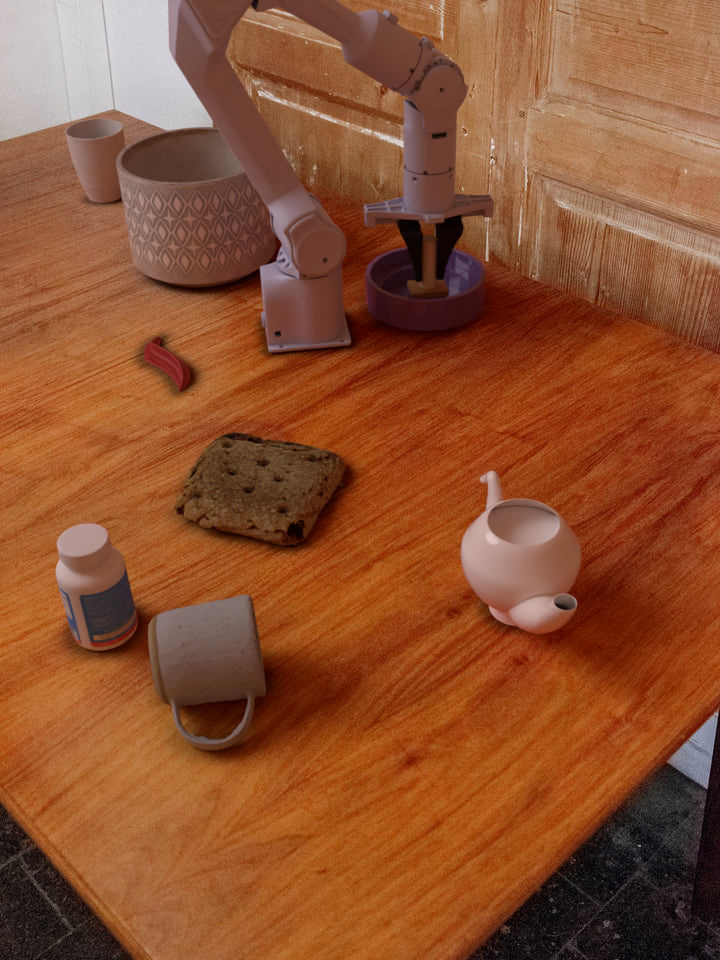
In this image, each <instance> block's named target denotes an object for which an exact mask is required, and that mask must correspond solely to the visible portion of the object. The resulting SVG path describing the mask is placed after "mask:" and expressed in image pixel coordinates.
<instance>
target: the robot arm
mask: <svg viewBox="0 0 720 960" xmlns="http://www.w3.org/2000/svg"><path fill="white" fill-rule="evenodd" d="M250 7H251V8H252V9H253V10H254V11H255V12H256V13H262V12H266V11H268V10H273V9H276V8H279V9H282V10H283V11H285V12H287V13H289V14H290V15H292V16H294V17H295V18H297V19H299V20H301V21H302V22H304V23H306V24H308V25H309V26H311V27H312V28H315V29H316V30H318V31H320V32H322V33H323V34H325V35H327V36H329V37H330V38H332V39H334V40H335V41H337V42H338V43H339V44H340V47H341V52H342V56H343V60H344V61H345V63H347V64H348V65H350V66H351V67H353V68H355V69H356V70H358V71H359V72H361V73H363V74H364V75H366V76H368V77H369V78H371V79H372V80H374V81H375V82H378V83H379V84H380V85H383V87H385V88H387V89H388V90H390V91H392V92H394V93H398V94H400V95H401V96H402V97H406V98H405V99H404V100H403V196H401V197H396V198H392V199H387V200H384V201H380V202H376V203H368V204H363V220H364V225H365V227H366V228H367V229H370V228H376V226H377V225H385V224H396V226H397V228H398V231H399V233H400V235H401V237H402V240H403V242H404V243H405V247H407V249H408V252H409V255H410V259H411V264H412V270H413V276H414V279H415V281H416V282H422V262H421V255H422V243H423V236H424V233H423V232H422V231H423V230H422V224H420V222H421V221H423V222H425V223H426V224H429V225H432V224H434V234H435V235H434V236H436V237H437V280H443V279H444V274H445V270H446V266H447V263H448V260H449V258H450V255H451V253H452V251H453V249H455V247H456V245H457V243H458V242H459V240H460V239H461V237H462V236H463V233H464V229H465V228H464V227H465V225H464V222H463V218H470V217H481V216H482V217H483V218H485V219H487V218H494V213H495V211H494V210H495V200H494V199H493V197H492V195H491V194H468V193H466V194H465V193H456V170H457V169H456V166H457V137H458V136H457V135H458V130H457V129H458V124H457V123H458V111H459V109H460V108H461V106H462V105H463V104H464V102H465V100H466V97H467V95H468V92H469V91H468V90H469V85H468V84H466V82H465V76H464V74H463V73H462V69H461V68H460V66H459V65H458V64H457V63H455V62H454V61H453V60H451V58H450V57H448V56H447V55H445V54H444V53H442V52H441V51H440V50H439V49H437V48H436V47H435V43H434V41H432V40H431V39H429V38H428V37H426V36H423V37H422V38H420V37H418V36H416V35H415V34H413V33H412V32H410V31H409V30H408V29H406V28H404V27H402V26H401V25H400V24H398V22H399V20H400V18H399V17H398V16H397V15H396V14H394V13H393V12H391V11H390V10H388V9H386V8H385V9H384V10H383V12H380V11H379V10H378V9H375V8H369V9H365V10H362V11H358V12H354V11H353V10H352V9H350V8H349V7H348V6H345V4H343V3H342V2H340V1H339V0H167V11H168V12H167V13H168V14H167V15H168V19H167V20H168V21H167V22H168V48H169V52H170V55H171V57H172V59H173V61H174V62H175V64H176V65H177V67H178V69H179V70H180V72H181V73H182V75H183V76H184V78H185V80H186V82H187V83H188V85H189V86H190V87H191V90H192V91H193V92H194V94H195V96H196V98H197V99H198V101H199V102H200V103H201V105H202V107H203V108H204V110H205V111H206V113H207V114H208V116H209V117H210V119H211V121H212V122H213V124H214V125H215V127H217V129H218V130H219V132H220V133H221V135H222V136H223V138H224V140H225V141H226V143H227V144H228V146H229V147H230V149H231V151H232V152H233V154H234V155H235V157H236V158H237V160H238V162H239V163H240V165H241V166H242V168H243V169H244V171H245V173H246V174H247V176H248V177H249V179H250V180H251V182H252V184H253V185H254V187H255V188H256V190H257V191H258V193H259V195H260V196H261V198H262V199H263V201H264V202H265V204H266V206H267V207H268V209H269V212H270V221H271V228H272V230H273V232H274V234H275V238H277V239H278V240H279V241H280V244H281V245H280V248H279V251H278V253H277V257H276V261H273V262H272V263H266V264H265V265H263V266H260V268H259V274H260V275H259V276H260V286H261V287H260V288H261V295H262V299H261V300H262V307H263V308H262V309H263V311H261V312H260V315H261V325H262V328H264V329H265V335H266V342H267V349H268V352H269V353H284V352H293V351H307V350H316V349H327V348H338V347H339V348H340V347H347V346H351V344H352V338H351V333H350V330H349V327H348V324H347V319H346V314H345V311H344V290H343V267H342V265H343V264H342V262H343V261H344V259H345V256H346V254H347V250H348V249H347V246H348V245H347V238H346V236H345V234H344V233H343V230H341V228H340V227H339V226H337V224H335V222H334V221H333V220H332V218H331V216H330V215H329V214H328V213H327V211H326V209H325V208H324V205H323V204H322V202H321V200H320V199H319V198H318V197H317V196H315V195H314V194H312V193H311V192H309V191H307V189H306V188H305V186H304V185H303V183H302V180H301V179H300V178H299V176H298V174H297V173H296V171H295V170H294V168H293V166H292V164H291V163H290V161H289V159H288V158H287V156H286V155H285V153H284V151H283V150H282V148H281V146H280V145H279V143H278V142H277V140H276V137H275V136H274V134H273V133H272V131H271V130H270V128H269V126H268V124H267V123H266V121H265V119H264V118H263V117H262V114H261V113H260V111H259V109H258V108H257V106H256V104H255V102H254V101H253V99H252V98H251V96H250V95H249V93H248V91H247V90H246V87H245V86H244V84H243V82H242V81H241V80H240V77H239V76H238V74H237V73H236V71H235V69H234V67H233V66H232V64H231V63H230V61H229V59H228V57H227V55H226V53H227V50H228V46H229V43H230V40H231V37H232V34H233V30H234V29H235V27H236V26H237V25H238V24H239V22H240V21H241V19H242V18H243V16H244V15H245V13H246V12H247V11H248V10H249V9H250Z"/></svg>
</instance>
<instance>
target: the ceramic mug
mask: <svg viewBox="0 0 720 960" xmlns="http://www.w3.org/2000/svg"><path fill="white" fill-rule="evenodd" d="M253 601H254V600H253V597H252V595H250V594H249V593H248V594H241V595H236V596H233V597H228V598H224V599H223V598H222V599H218V600H214V601H207V602H201V603H198V604H194V605H189V606H183V607H177V608H173V609H169V610H167V611H164V612H161V613H159V614H158V613H157V614H156V615H154V616H153V617H152V618H151V619H150V622H149V623H148V627H147V628H148V629H147V640H148V641H147V642H148V643H147V644H148V652H149V662H150V668H151V669H150V670H151V675H152V676H151V677H152V680H153V685H154V689H155V692H156V695H157V697H158V699H159V700H160V702H162V703H163V704H164V705H166V706H171V710H172V717H173V720H174V724H175V727H176V728H177V730H178V732H179V734H180V735H181V737H182V739H183V740H184V741H186V742H187V744H189V745H191V746H192V747H194V748H196V749H200V750H202V751H220V750H223V749H228V748H230V747H232V746H234V745H236V744H237V743H238V742H240V741H241V740H242V738H243V737H244V736H245V735H246V733H247V732H248V730H249V729H250V725H251V723H252V721H253V716H254V709H255V699H256V698H260V697H264V696H265V695H266V693H267V692H266V691H267V688H266V678H265V669H264V661H263V656H262V655H263V654H262V648H261V641H260V634H259V629H258V622H257V616H256V612H255V606H254V602H253ZM246 699H247V704H246V708H245V712H244V715H243V718H242V720H241V722H240V723H239V724H238V726H237V727H236V728H235V729H234V730H233V731H232V733H231V734H229V735H228V736H227V737H226V738H221V739H220V738H219V739H210V738H208V737H205V736H203V735H202V736H201V735H200V736H197V735H195V734H193V733H189V732H188V730H187V729H186V728H185V726H184V725H183V722H182V719H181V713H180V712H181V711H180V710H181V709H180V708H181V707H186V706H187V707H188V706H193V705H195V706H196V705H201V704H207V703H215V702H229V701H230V702H231V701H237V700H246Z"/></svg>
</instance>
